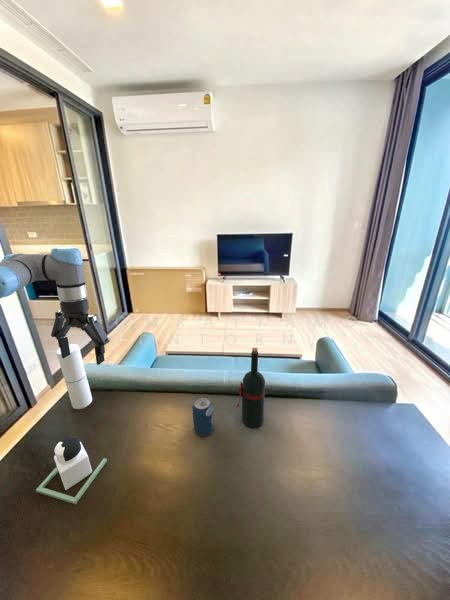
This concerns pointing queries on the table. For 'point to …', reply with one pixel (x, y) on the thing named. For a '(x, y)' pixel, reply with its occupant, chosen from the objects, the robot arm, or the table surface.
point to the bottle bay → (63, 496)
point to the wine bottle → (252, 395)
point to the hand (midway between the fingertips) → (83, 359)
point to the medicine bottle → (71, 461)
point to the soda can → (202, 416)
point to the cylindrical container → (75, 377)
